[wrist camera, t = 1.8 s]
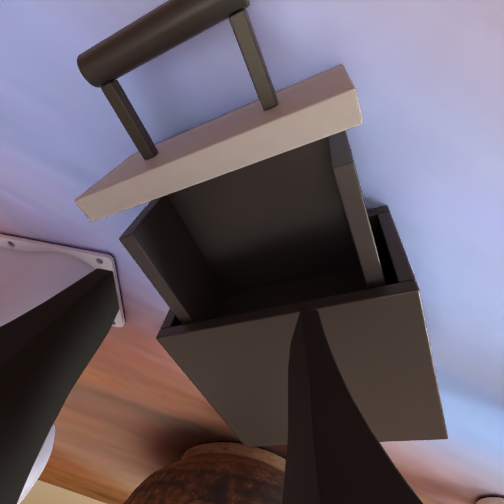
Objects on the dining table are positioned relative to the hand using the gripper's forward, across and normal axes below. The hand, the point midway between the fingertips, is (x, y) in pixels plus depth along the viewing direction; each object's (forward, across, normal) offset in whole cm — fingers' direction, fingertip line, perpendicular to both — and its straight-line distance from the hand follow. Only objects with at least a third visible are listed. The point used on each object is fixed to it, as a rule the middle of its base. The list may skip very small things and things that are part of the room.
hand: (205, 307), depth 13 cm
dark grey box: (+10, -6, +8) cm, 14 cm away
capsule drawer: (+9, 0, -2) cm, 9 cm away
